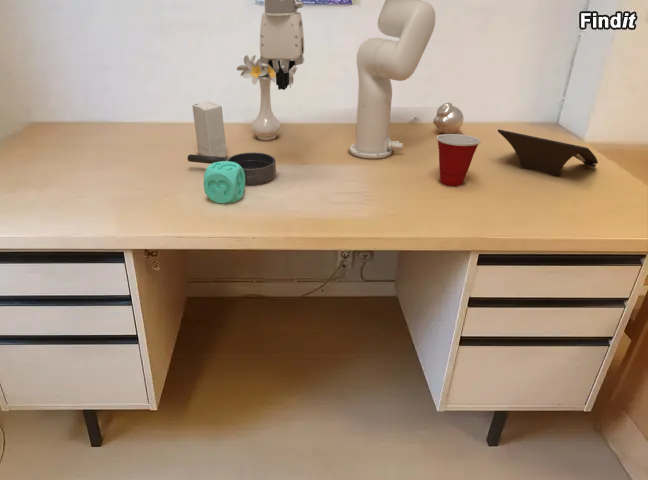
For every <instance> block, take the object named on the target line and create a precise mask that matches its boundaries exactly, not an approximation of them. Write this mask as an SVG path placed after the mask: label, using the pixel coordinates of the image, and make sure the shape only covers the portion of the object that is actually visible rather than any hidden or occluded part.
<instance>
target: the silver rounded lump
mask: <svg viewBox="0 0 648 480" xmlns="http://www.w3.org/2000/svg"><path fill="white" fill-rule="evenodd" d="M432 123H433V125H434V126H435V127H436V129H437V130H438V131H439V132H440V133H441V134H442V135H443V134H456V133H458V131H459V130H460V129H461V128H462V127H463V124H464V114H463V112H462V111H461V110H460V108H459V107H457V106H454V105H453V104H452V102H445V103H443V104H441V105H440V106H439V107H438V108H437V110H436V115H435V116H434V117H433V119H432Z"/></svg>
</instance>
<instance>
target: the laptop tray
mask: <svg viewBox="0 0 648 480" xmlns="http://www.w3.org/2000/svg"><path fill="white" fill-rule="evenodd" d="M497 132H498V133H499V134H500V135H501V136H502V137H503V138H504V139H505V140H506V141H507V142H508V144H510V146H511V147H512V149H513V150H514V152H515V154H516V156H517V158H518V161H519V165H520V167H521V168H522V169H525V170H533V171H539V172H543V173H546V174H549V175H552V176H555V177H560V175H561V173H562V170H563V168H564V166H565V165H566V164H567V162H568V161H570V160H571V159H572V158H573V157H574V159H575V158H576V159H577V160H578V161H580V162H582V163H583V165H585V166H588V167H591V168H596V166H597V165H598V164H599V161H598V158H597V157H596V155H595V154H594V153H593V152H592V151H591V149H590V148H589V147H586V146H581V145H576V144H572V143H567V142H561V141H558V140H552V139H549V138H548V139H547V138H543V137H538V136H534V135H533V136H532V135H528V134H525V133H524V134H523V133H518V132H515V131H508V130H503V129H499V128H498V129H497Z"/></svg>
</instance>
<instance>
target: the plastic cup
mask: <svg viewBox="0 0 648 480" xmlns="http://www.w3.org/2000/svg"><path fill="white" fill-rule="evenodd" d="M435 138H436V140H437V145H438V165H439V166H438V169H439V181H440V183H441V184H442V185H443V186H447V187H460V186H462V185H463V184H464V182H465V179H466V176H467V173H468V171H469V170H470V167H471V163H472V161H473V158H474V155H475V153H476V150H477V148H478V146H479V145H480V143H481V142H482V140H481V138H478V137H476V136H473V135H468V134H461V133H453V134H443V133H442V134H439V135H437V136H436V137H435Z"/></svg>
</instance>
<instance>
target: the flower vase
mask: <svg viewBox="0 0 648 480" xmlns="http://www.w3.org/2000/svg"><path fill="white" fill-rule="evenodd" d="M256 58H257V56H256V54H254V55H253V56H251V58H250V57H249V55H248V54H246V55H244V57H243V63H244V64H241V65H238V66H237V67H236V71H241V73H240V77H243V78H244V79H249V78H251V83H252V85H256V84H257V83H258V82H259V83H258V84H259V89H260V108H259V112H258V115H257V116H256V117H255V119H254V120H253V121H252V124H251V130H252V132H253V134H255V135H256V138H257V139H258V140H261V141H271V140H274V139H276V138H277V135H278V134H279V133H280V131H281V130H282V129H281V128H282V126H281V123H280V121H279V119H278V118H277V117H276V116H275V115H274V112H273V110H272V109H273V108H272V102H271V100H272V99H271V86H272V85H271V84H272V83H275V84H276V73H275V72H274V70H273V69H272V67H271V66H270V65H267V64H264V63H261V61H260V59H261V55H259V58H258V59H257V60H256ZM280 61H281V68H282V70H283V68H284V60H281V59H280ZM297 71H298V67H297V65H295V66H293V67H292V68H291V69H290V71H289V88H290V89H291V88H292V85H294V75H295V74H296V72H297Z"/></svg>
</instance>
